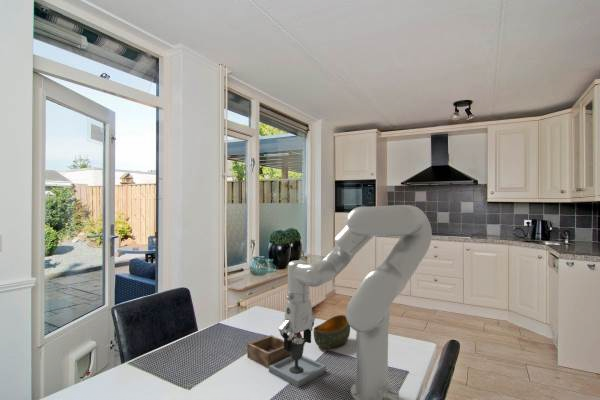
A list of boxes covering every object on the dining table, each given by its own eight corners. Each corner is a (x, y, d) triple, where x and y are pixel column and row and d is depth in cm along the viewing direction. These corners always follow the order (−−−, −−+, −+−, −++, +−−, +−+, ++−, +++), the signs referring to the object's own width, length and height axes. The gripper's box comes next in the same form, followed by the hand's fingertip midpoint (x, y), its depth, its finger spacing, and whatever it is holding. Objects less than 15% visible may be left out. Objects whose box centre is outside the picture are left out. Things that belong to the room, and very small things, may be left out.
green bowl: (363, 347, 133) (362, 322, 133) (316, 353, 128) (315, 327, 128) (350, 335, 146) (350, 313, 146) (307, 340, 141) (307, 316, 141)
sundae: (304, 376, 109) (304, 330, 109) (284, 373, 110) (285, 329, 111) (307, 366, 115) (308, 323, 116) (289, 364, 117) (289, 322, 117)
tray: (325, 371, 114) (325, 365, 114) (298, 387, 104) (298, 381, 104) (296, 358, 123) (296, 353, 123) (268, 371, 113) (268, 366, 113)
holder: (292, 357, 124) (292, 343, 124) (268, 368, 116) (268, 354, 116) (271, 347, 133) (271, 335, 133) (247, 357, 124) (247, 343, 124)
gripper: (288, 304, 105) (287, 357, 105) (322, 294, 118) (322, 341, 117) (272, 299, 110) (272, 350, 110) (306, 290, 123) (306, 336, 122)
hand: (297, 346), depth 114 cm, fingers open, 9 cm apart
